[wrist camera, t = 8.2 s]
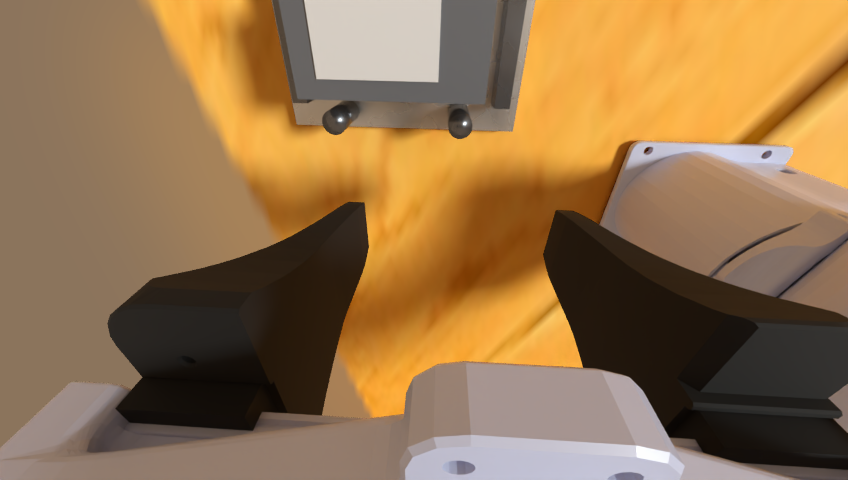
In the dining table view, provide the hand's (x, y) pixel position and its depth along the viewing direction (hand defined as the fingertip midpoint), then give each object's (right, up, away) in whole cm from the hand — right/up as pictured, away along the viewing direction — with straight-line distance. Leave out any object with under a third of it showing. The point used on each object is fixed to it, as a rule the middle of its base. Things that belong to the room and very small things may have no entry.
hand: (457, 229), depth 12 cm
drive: (-2, +10, +4) cm, 11 cm away
